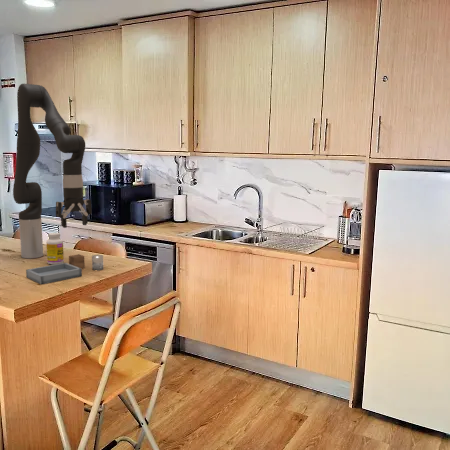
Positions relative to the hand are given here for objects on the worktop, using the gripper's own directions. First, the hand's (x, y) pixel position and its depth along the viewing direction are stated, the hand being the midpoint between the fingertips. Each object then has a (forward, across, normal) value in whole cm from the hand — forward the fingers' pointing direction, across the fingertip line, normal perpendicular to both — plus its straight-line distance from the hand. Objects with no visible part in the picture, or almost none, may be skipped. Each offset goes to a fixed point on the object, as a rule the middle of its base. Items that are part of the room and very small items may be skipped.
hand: (74, 226), depth 191 cm
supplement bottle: (+18, +2, -14) cm, 23 cm away
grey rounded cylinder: (+18, -6, +7) cm, 20 cm away
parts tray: (+17, +12, +6) cm, 22 cm away
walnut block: (+18, -1, -1) cm, 18 cm away
